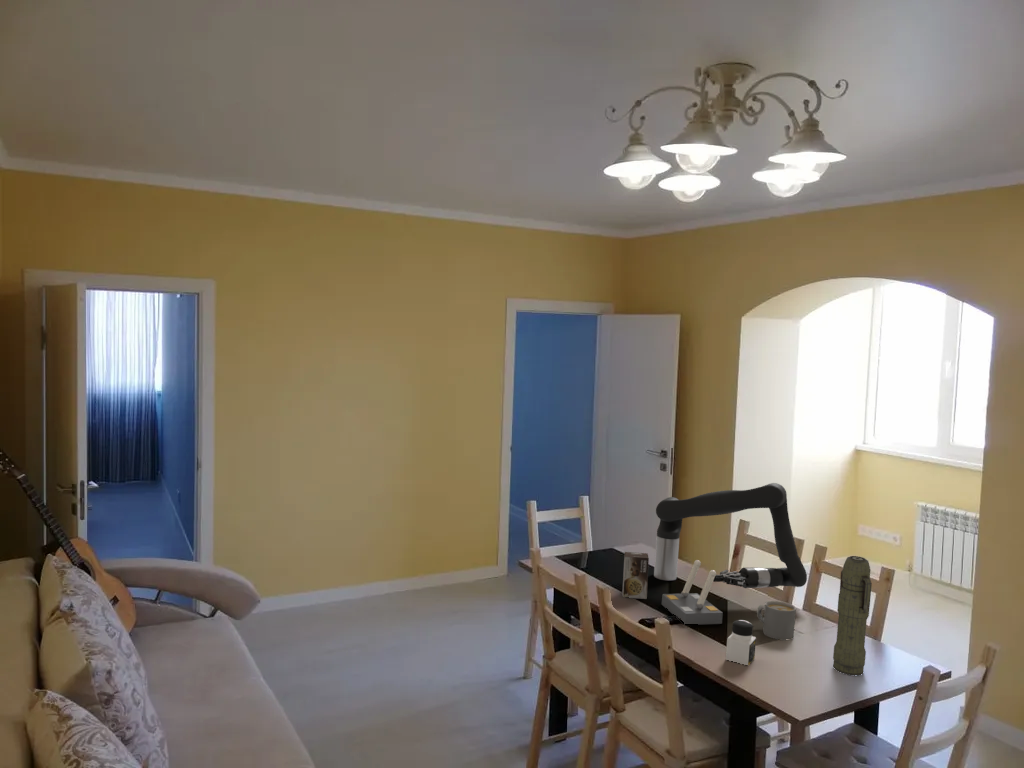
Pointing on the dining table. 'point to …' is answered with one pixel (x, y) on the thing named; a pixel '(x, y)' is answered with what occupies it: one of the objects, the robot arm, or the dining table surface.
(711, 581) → the switch
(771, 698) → the dining table surface
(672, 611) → the switch unit
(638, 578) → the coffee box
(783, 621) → the coffee mug
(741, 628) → the medicine bottle
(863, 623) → the thermos
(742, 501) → the robot arm
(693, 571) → the switch
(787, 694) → the dining table surface
